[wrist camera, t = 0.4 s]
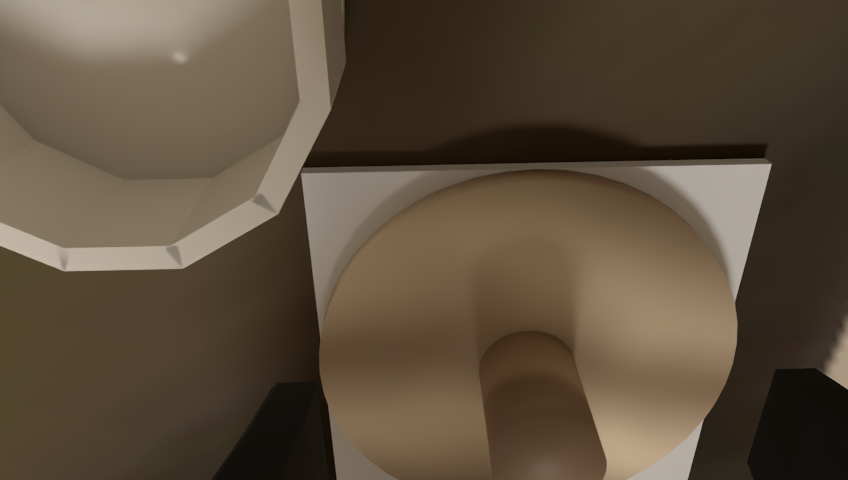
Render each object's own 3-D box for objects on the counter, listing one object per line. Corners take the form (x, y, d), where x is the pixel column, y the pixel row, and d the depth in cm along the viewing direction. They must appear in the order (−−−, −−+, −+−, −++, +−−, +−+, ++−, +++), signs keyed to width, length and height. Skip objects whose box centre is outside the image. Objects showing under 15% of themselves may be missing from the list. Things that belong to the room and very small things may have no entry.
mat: (682, 476, 25) (685, 484, 25) (339, 484, 25) (338, 493, 25) (764, 158, 19) (771, 164, 18) (303, 167, 19) (301, 173, 18)
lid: (685, 484, 25) (740, 609, 21) (338, 492, 25) (323, 620, 21) (771, 163, 18) (876, 253, 14) (301, 173, 18) (268, 266, 14)
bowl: (357, 183, 19) (344, 265, 15) (4, 190, 19) (-99, 274, 15) (327, -252, 14) (295, -293, 10) (-155, -245, 14) (-368, -283, 10)
